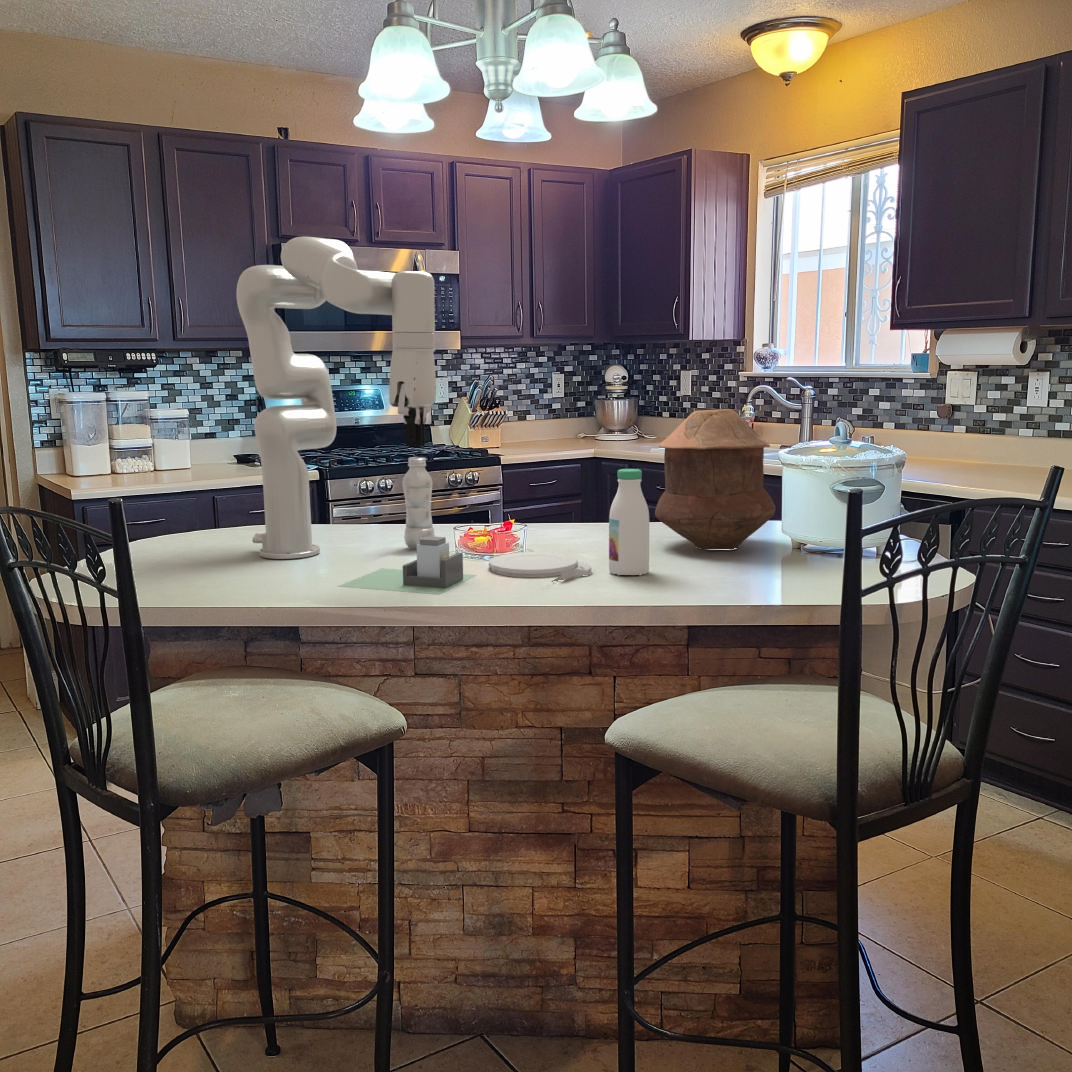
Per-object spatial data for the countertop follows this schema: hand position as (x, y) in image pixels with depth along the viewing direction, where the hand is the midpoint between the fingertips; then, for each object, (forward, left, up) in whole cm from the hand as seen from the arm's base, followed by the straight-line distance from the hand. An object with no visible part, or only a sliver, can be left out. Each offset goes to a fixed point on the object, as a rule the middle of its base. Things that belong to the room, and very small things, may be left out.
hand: (415, 445), depth 180 cm
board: (0, -4, -26) cm, 26 cm away
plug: (+5, -4, -24) cm, 25 cm away
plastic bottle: (-15, +30, -26) cm, 42 cm away
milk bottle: (+35, +20, -26) cm, 48 cm away
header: (+5, -4, -24) cm, 25 cm away
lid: (+19, +14, -26) cm, 35 cm away
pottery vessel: (+46, +50, -26) cm, 72 cm away
